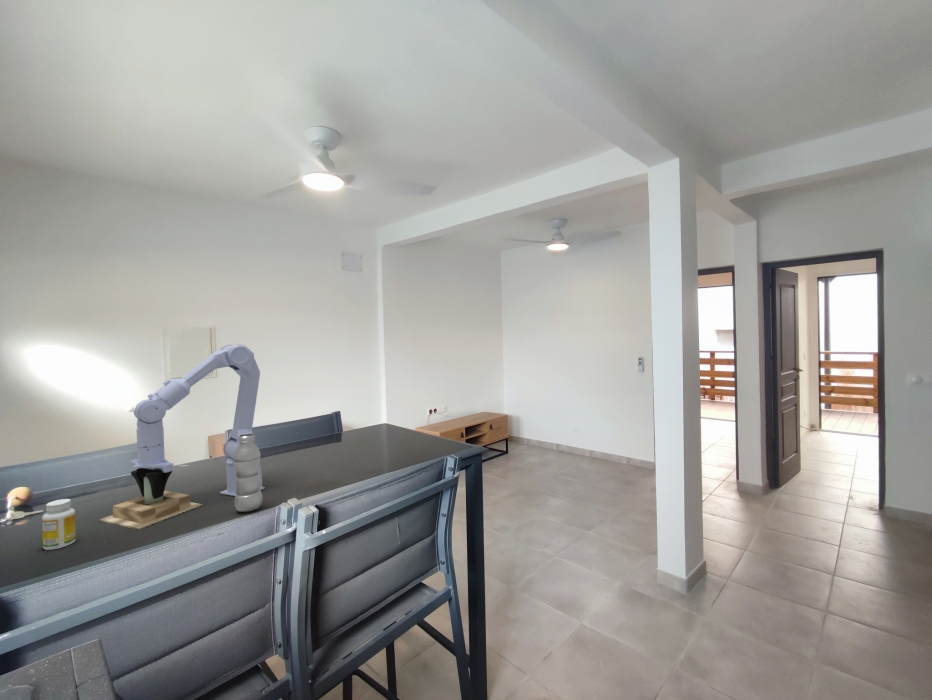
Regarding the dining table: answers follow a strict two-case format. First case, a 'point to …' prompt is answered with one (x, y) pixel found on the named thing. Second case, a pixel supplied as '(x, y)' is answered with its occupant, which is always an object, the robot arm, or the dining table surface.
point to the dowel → (149, 494)
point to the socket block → (149, 510)
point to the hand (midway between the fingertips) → (152, 496)
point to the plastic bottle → (247, 474)
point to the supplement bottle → (58, 525)
